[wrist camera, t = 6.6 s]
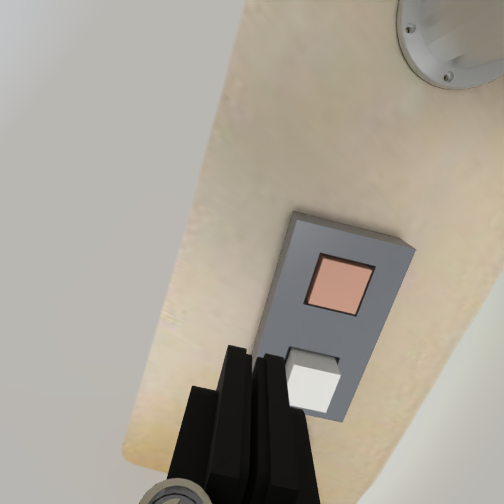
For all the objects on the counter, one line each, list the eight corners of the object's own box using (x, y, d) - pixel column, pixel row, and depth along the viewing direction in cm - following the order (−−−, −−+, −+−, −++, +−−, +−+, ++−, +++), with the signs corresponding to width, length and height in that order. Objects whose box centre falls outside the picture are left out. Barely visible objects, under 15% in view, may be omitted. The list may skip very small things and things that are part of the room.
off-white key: (291, 347, 37) (293, 364, 34) (334, 357, 37) (341, 375, 34) (279, 383, 38) (280, 403, 35) (320, 392, 39) (325, 412, 36)
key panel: (293, 211, 36) (297, 219, 32) (399, 238, 36) (416, 249, 32) (244, 377, 42) (242, 400, 39) (335, 397, 43) (342, 422, 39)
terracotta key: (318, 249, 35) (323, 258, 33) (363, 260, 36) (372, 270, 33) (304, 290, 37) (308, 303, 34) (347, 301, 37) (355, 314, 34)
